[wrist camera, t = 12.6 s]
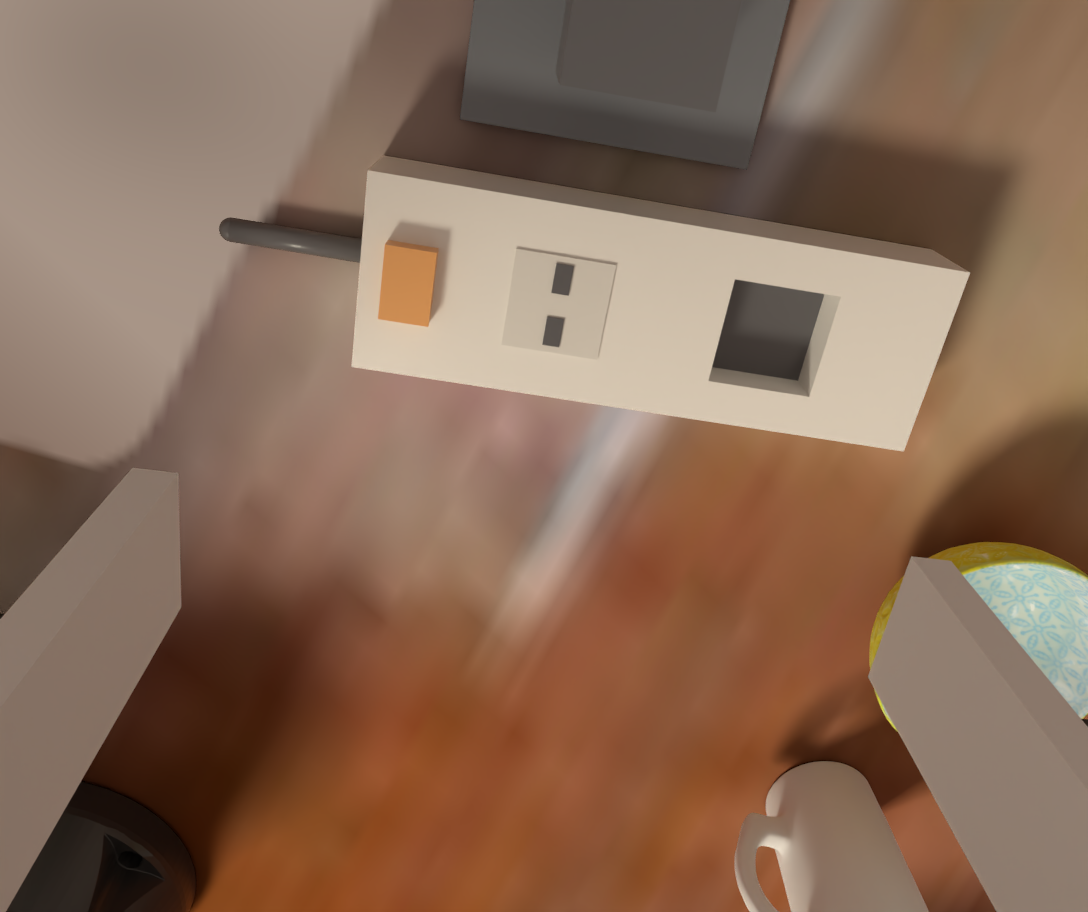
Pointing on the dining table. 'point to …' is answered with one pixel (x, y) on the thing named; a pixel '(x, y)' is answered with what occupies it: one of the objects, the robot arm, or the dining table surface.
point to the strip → (637, 303)
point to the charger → (648, 49)
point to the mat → (549, 108)
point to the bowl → (1024, 609)
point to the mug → (826, 846)
